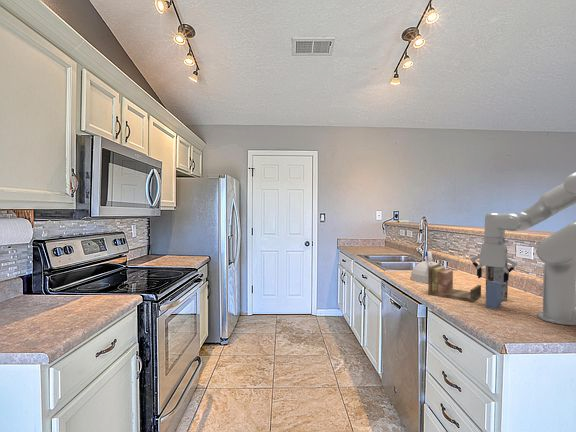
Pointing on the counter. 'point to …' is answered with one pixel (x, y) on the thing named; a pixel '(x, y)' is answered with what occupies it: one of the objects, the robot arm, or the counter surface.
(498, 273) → the coffee box
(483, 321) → the counter surface
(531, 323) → the counter surface
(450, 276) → the book rack
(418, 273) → the kettle
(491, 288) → the navy book
